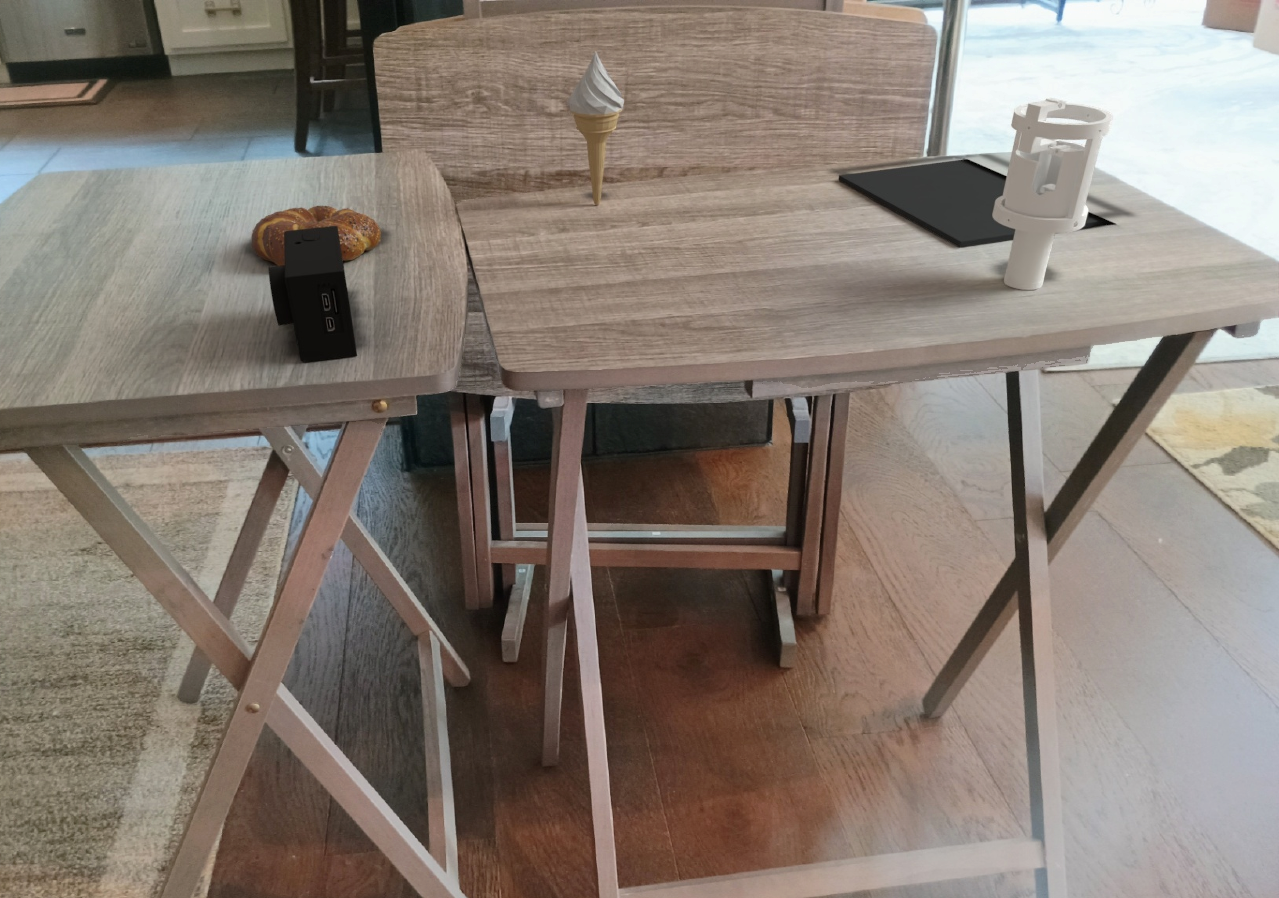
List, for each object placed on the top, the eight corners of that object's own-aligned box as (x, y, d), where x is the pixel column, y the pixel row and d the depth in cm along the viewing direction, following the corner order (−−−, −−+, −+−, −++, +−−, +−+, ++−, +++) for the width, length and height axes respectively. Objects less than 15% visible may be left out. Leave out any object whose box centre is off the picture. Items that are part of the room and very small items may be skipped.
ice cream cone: (623, 195, 110) (624, 43, 101) (624, 213, 105) (625, 55, 97) (570, 196, 110) (567, 45, 101) (569, 214, 105) (565, 56, 97)
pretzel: (386, 228, 103) (381, 191, 101) (378, 268, 94) (372, 229, 92) (265, 234, 103) (258, 197, 101) (245, 275, 94) (236, 235, 92)
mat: (1122, 223, 99) (1123, 217, 98) (959, 247, 95) (960, 241, 94) (980, 162, 116) (981, 156, 116) (838, 180, 112) (838, 174, 112)
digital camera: (284, 312, 87) (268, 230, 83) (349, 304, 88) (337, 223, 84) (285, 365, 78) (267, 277, 74) (357, 356, 79) (343, 269, 75)
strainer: (961, 277, 89) (997, 94, 80) (1019, 261, 91) (1060, 82, 83) (1027, 305, 83) (1073, 112, 75) (1086, 287, 86) (1138, 99, 78)
